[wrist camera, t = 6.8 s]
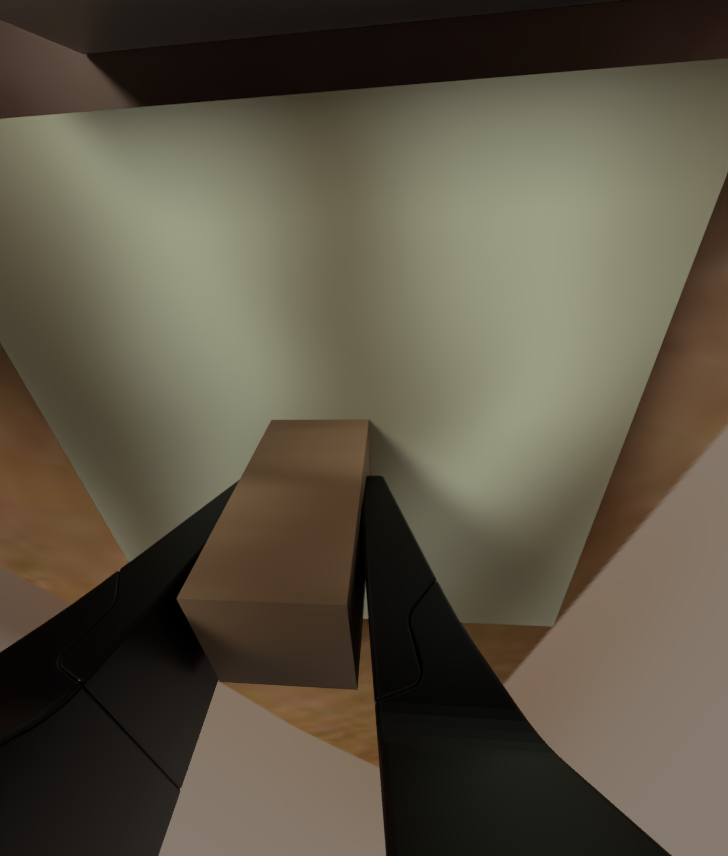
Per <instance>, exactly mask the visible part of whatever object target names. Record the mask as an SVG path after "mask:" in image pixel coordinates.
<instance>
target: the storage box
mask: <svg viewBox="0 0 728 856" xmlns="http://www.w3.org/2000/svg"><path fill="white" fill-rule="evenodd" d="M613 1H623V0H0V20H3V21H5V22H7V23H10V24H12V25H15V26H17V27H19V28H22V29H24V30H27V31H29V32H32V33H34V34H36V35H39V36H41V37H44V38H46V39H48V40H51V41H53V42H56V43H58V44H61V45H63V46H65V47H68V48H70V49H73V50H75V51H77V52H80V53H82V54H89V53H99V52H109V51H119V50H129V49H139V48H149V47H159V46H169V45H179V44H190V43H200V42H210V41H220V40H230V39H240V38H250V37H260V36H270V35H280V34H290V33H300V32H310V31H321V30H331V29H341V28H351V27H361V26H371V25H381V24H391V23H401V22H411V21H421V20H431V19H441V18H451V17H462V16H472V15H482V14H492V13H502V12H512V11H522V10H532V9H542V8H552V7H562V6H572V5H582V4H593V3H603V2H613Z"/></svg>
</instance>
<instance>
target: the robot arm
mask: <svg viewBox="0 0 728 856" xmlns="http://www.w3.org/2000/svg"><path fill="white" fill-rule="evenodd" d="M239 480H240V479H239ZM239 480H238V481H237V482H235V483H234V484H233V485H231V486H230V487H229V488H227V489H226V490H225V491H223V492H222V493H221V494H219V495H218V496H217V497H215V498H214V499H213V500H211V501H210V502H209V503H207V504H206V505H205V506H203V507H202V508H201V509H200V510H198V511H197V512H196V513H194V514H193V515H192V516H190V517H189V518H188V519H186V520H185V521H184V522H182V523H181V524H180V525H178V526H177V527H176V528H174V529H173V530H172V531H170V532H169V533H168V534H166V535H165V536H164V537H162V538H161V539H160V540H158V541H157V542H156V543H154V544H153V545H152V546H150V547H149V548H148V549H146V550H145V551H144V552H142V553H141V554H140V555H138V556H137V557H136V558H134V559H133V560H132V561H130V562H129V563H128V564H126V565H125V566H124V567H122V568H121V569H120V572H119V571H117V572H115V573H114V574H113V575H111V576H110V577H109V578H107V579H106V580H105V581H103V582H102V583H101V584H99V585H98V586H97V587H95V588H94V589H93V590H91V591H90V592H88V593H87V594H86V595H84V596H83V597H82V598H80V599H79V600H77V601H76V602H75V603H73V604H72V605H70V606H69V607H67V608H66V609H64V610H63V611H61V612H60V613H59V614H57V615H56V616H54V617H53V618H51V619H50V620H48V621H47V622H45V623H44V624H42V625H41V626H39V627H38V628H36V629H35V630H33V631H32V632H30V633H29V634H27V635H26V636H24V637H23V638H21V639H20V640H18V641H17V642H15V643H14V644H12V645H11V646H9V647H8V648H6V649H5V650H3V651H2V652H0V856H158V855H159V852H160V849H161V846H162V843H163V840H164V837H165V834H166V832H167V829H168V826H169V823H170V820H171V817H172V814H173V811H174V808H175V805H176V803H177V799H178V797H179V793H180V788H181V787H182V784H183V781H184V778H185V775H186V773H187V770H188V767H189V764H190V761H191V758H192V755H193V752H194V749H195V746H196V743H197V740H198V738H199V734H200V732H201V729H202V726H203V723H204V720H205V717H206V714H207V711H208V708H209V705H210V702H211V699H212V696H213V694H214V691H215V688H216V685H217V682H218V677H217V675H216V673H215V671H214V669H213V668H212V666H211V664H210V662H209V660H208V658H207V656H206V654H205V652H204V650H203V648H202V647H201V645H200V643H199V641H198V639H197V637H196V635H195V633H194V631H193V629H192V628H191V626H190V624H189V622H188V620H187V618H186V616H185V614H184V612H183V610H182V608H181V607H180V605H179V603H178V601H177V597H178V595H179V593H180V591H181V589H182V587H183V585H184V583H185V582H186V580H187V578H188V576H189V574H190V572H191V570H192V568H193V567H194V565H195V563H196V561H197V559H198V557H199V555H200V553H201V551H202V550H203V548H204V546H205V544H206V542H207V540H208V538H209V536H210V535H211V533H212V531H213V529H214V527H215V525H216V523H217V521H218V519H219V518H220V516H221V514H222V512H223V510H224V508H225V506H226V504H227V503H228V501H229V499H230V497H231V495H232V493H233V491H234V489H235V487H236V486H237V484H238V482H239ZM361 529H362V542H363V555H364V568H365V581H366V595H367V608H368V621H369V634H370V648H371V661H372V674H373V687H374V700H375V714H376V727H377V740H378V754H379V767H380V780H381V792H382V793H381V794H382V807H383V819H384V820H383V821H384V833H385V848H386V856H671V855H670V854H669V853H668V852H667V851H666V850H664V849H663V848H662V847H661V846H660V845H659V844H658V843H657V842H655V841H654V840H653V839H652V838H651V837H650V836H649V835H647V834H646V833H645V832H644V831H643V830H641V828H639V827H638V826H637V825H636V824H635V823H634V822H633V821H632V820H630V819H629V818H628V817H627V816H626V815H625V814H624V813H622V812H621V811H620V810H619V809H618V808H617V807H616V806H614V805H613V804H612V803H611V802H610V801H609V800H608V799H607V798H605V797H604V796H603V795H602V794H601V793H600V792H599V791H597V790H596V789H595V788H594V787H593V786H592V785H591V784H590V783H588V782H587V781H586V780H585V779H584V778H583V777H582V776H580V775H579V774H578V773H577V772H576V771H575V770H574V769H572V768H571V767H570V766H569V765H568V764H567V763H566V762H564V761H563V760H562V759H561V758H560V757H559V756H558V755H557V754H556V753H555V752H554V751H553V750H552V749H551V748H550V747H549V746H548V745H547V744H546V743H545V741H543V739H542V738H541V737H540V736H539V735H538V733H537V732H536V731H535V729H534V728H533V727H532V726H531V724H530V723H529V722H528V720H527V719H526V717H525V716H524V715H523V713H522V712H521V711H520V709H519V708H518V707H517V705H516V703H515V702H514V701H513V699H512V698H511V696H510V695H509V694H508V692H507V690H506V689H505V687H504V686H503V684H502V683H501V682H500V680H499V679H498V677H497V676H496V674H495V673H494V671H493V670H492V669H491V667H490V666H489V664H488V663H487V661H486V660H485V658H484V657H483V655H482V654H481V653H480V651H479V650H478V648H477V647H476V645H475V644H474V642H473V641H472V639H471V638H470V636H469V634H468V633H467V631H466V630H465V628H464V627H463V625H462V624H461V622H460V621H459V619H458V617H457V615H456V614H455V612H454V610H453V608H452V607H451V605H450V603H449V601H448V599H447V598H446V596H445V594H444V592H443V590H442V588H441V586H440V584H439V582H437V579H436V577H435V575H434V573H433V571H432V569H431V567H430V565H429V563H428V561H427V560H426V558H425V556H424V554H423V552H422V550H421V548H420V546H419V544H418V542H417V540H416V538H415V536H414V534H413V533H412V531H411V529H410V527H409V525H408V523H407V521H406V519H405V517H404V515H403V513H402V511H401V509H400V507H399V506H398V504H397V502H396V500H395V498H394V496H393V494H392V492H391V490H390V488H389V486H388V484H387V482H386V481H385V479H384V477H383V476H381V475H368V476H367V477H366V482H365V489H364V496H363V502H362V509H361Z"/></svg>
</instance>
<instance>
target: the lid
mask: <svg viewBox="0 0 728 856" xmlns="http://www.w3.org/2000/svg"><path fill="white" fill-rule="evenodd" d="M727 173H728V58H726V59H714V60H701V61H689V62H677V63H665V64H653V65H641V66H629V67H617V68H605V69H593V70H581V71H569V72H557V73H545V74H533V75H521V76H509V77H497V78H485V79H473V80H461V81H449V82H437V83H425V84H413V85H401V86H389V87H377V88H365V89H353V90H341V91H329V92H317V93H305V94H292V95H280V96H268V97H256V98H244V99H232V100H220V101H208V102H196V103H184V104H172V105H160V106H148V107H136V108H124V109H112V110H100V111H88V112H76V113H64V114H52V115H40V116H28V117H16V118H4V119H0V343H1V345H2V346H3V348H4V350H5V352H6V353H7V355H8V357H9V358H10V360H11V362H12V363H13V365H14V367H15V369H16V370H17V372H18V374H19V375H20V377H21V379H22V381H23V382H24V384H25V386H26V387H27V389H28V391H29V392H30V394H31V396H32V398H33V399H34V401H35V403H36V404H37V406H38V408H39V410H40V411H41V413H42V415H43V416H44V418H45V420H46V421H47V423H48V425H49V427H50V428H51V430H52V432H53V433H54V435H55V437H56V439H57V440H58V442H59V444H60V445H61V447H62V449H63V450H64V452H65V454H66V456H67V457H68V459H69V461H70V462H71V464H72V466H73V468H74V469H75V471H76V473H77V474H78V476H79V478H80V479H81V481H82V483H83V485H84V486H85V488H86V490H87V491H88V493H89V495H90V497H91V498H92V500H93V502H94V503H95V505H96V507H97V509H98V510H99V512H100V514H101V515H102V517H103V519H104V520H105V522H106V524H107V526H108V527H109V529H110V531H111V532H112V534H113V536H114V538H115V539H116V541H117V543H118V544H119V546H120V548H121V549H122V551H123V553H124V555H125V556H126V558H127V560H128V561H129V562H130V561H132V560H133V559H134V558H136V557H137V556H138V555H140V554H141V553H142V552H144V551H145V550H146V549H148V548H149V547H150V546H152V545H153V544H154V543H156V542H157V541H158V540H160V539H161V538H162V537H164V536H165V535H166V534H168V533H169V532H170V531H172V530H173V529H174V528H176V527H177V526H178V525H180V524H181V523H182V522H184V521H185V520H186V519H188V518H189V517H190V516H192V515H193V514H194V513H196V512H197V511H198V510H200V509H201V508H202V507H203V506H205V505H206V504H207V503H209V502H210V501H211V500H213V499H214V498H215V497H217V496H218V495H219V494H221V493H222V492H223V491H225V490H226V489H227V488H229V487H230V486H231V485H233V484H234V483H235V482H237V481H238V480H239V479H240V480H239V482H238V484H237V486H236V487H235V489H234V491H233V493H232V495H231V497H230V499H229V501H228V503H227V504H226V506H225V508H224V510H223V512H222V514H221V516H220V518H219V519H218V521H217V523H216V525H215V527H214V529H213V531H212V533H211V535H210V536H209V538H208V540H207V542H206V544H205V546H204V548H203V550H202V551H201V553H200V555H199V557H198V559H197V561H196V563H195V565H194V567H193V568H192V570H191V572H190V574H189V576H188V578H187V580H186V582H185V583H184V585H183V587H182V589H181V591H180V593H179V595H178V597H177V601H178V603H179V605H180V607H181V608H182V610H183V612H184V614H185V616H186V618H187V620H188V622H189V624H190V626H191V628H192V629H193V631H194V633H195V635H196V637H197V639H198V641H199V643H200V645H201V647H202V648H203V650H204V652H205V654H206V656H207V658H208V660H209V662H210V664H211V666H212V668H213V669H214V671H215V673H216V675H217V677H218V679H219V681H220V682H232V683H250V684H267V685H284V686H302V687H319V688H336V689H354V690H357V688H358V675H359V662H360V650H361V637H362V624H363V619H368V608H367V595H366V581H365V568H364V555H363V542H362V529H361V509H362V502H363V496H364V489H365V482H366V477H367V476H368V475H381V476H383V477H384V479H385V481H386V482H387V484H388V486H389V488H390V490H391V492H392V494H393V496H394V498H395V500H396V502H397V504H398V506H399V507H400V509H401V511H402V513H403V515H404V517H405V519H406V521H407V523H408V525H409V527H410V529H411V531H412V533H413V534H414V536H415V538H416V540H417V542H418V544H419V546H420V548H421V550H422V552H423V554H424V556H425V558H426V560H427V561H428V563H429V565H430V567H431V569H432V571H433V573H434V575H435V577H436V579H437V582H439V584H440V586H441V588H442V590H443V592H444V594H445V596H446V598H447V599H448V601H449V603H450V605H451V607H452V608H453V610H454V612H455V614H456V615H457V617H458V619H459V621H460V622H461V623H479V624H503V625H527V626H552V627H553V626H554V623H555V620H556V618H557V615H558V613H559V610H560V607H561V605H562V602H563V600H564V597H565V594H566V592H567V589H568V587H569V584H570V581H571V579H572V576H573V574H574V571H575V568H576V566H577V563H578V561H579V558H580V555H581V553H582V550H583V548H584V545H585V542H586V540H587V537H588V535H589V532H590V529H591V527H592V524H593V522H594V519H595V516H596V514H597V511H598V509H599V506H600V503H601V501H602V498H603V496H604V493H605V490H606V488H607V485H608V483H609V480H610V477H611V475H612V472H613V470H614V467H615V464H616V462H617V459H618V457H619V454H620V451H621V449H622V446H623V444H624V441H625V438H626V436H627V433H628V431H629V428H630V425H631V423H632V420H633V418H634V415H635V412H636V410H637V407H638V405H639V402H640V399H641V397H642V394H643V392H644V389H645V386H646V384H647V381H648V379H649V376H650V373H651V371H652V368H653V366H654V363H655V360H656V358H657V355H658V353H659V350H660V347H661V345H662V342H663V339H664V337H665V334H666V332H667V329H668V326H669V324H670V321H671V319H672V316H673V313H674V311H675V308H676V306H677V303H678V300H679V298H680V295H681V293H682V290H683V287H684V285H685V282H686V280H687V277H688V274H689V272H690V269H691V267H692V264H693V261H694V259H695V256H696V254H697V251H698V248H699V246H700V243H701V241H702V238H703V235H704V233H705V230H706V228H707V225H708V222H709V220H710V217H711V215H712V212H713V209H714V207H715V204H716V202H717V199H718V196H719V194H720V191H721V189H722V186H723V183H724V181H725V178H726V176H727Z"/></svg>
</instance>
